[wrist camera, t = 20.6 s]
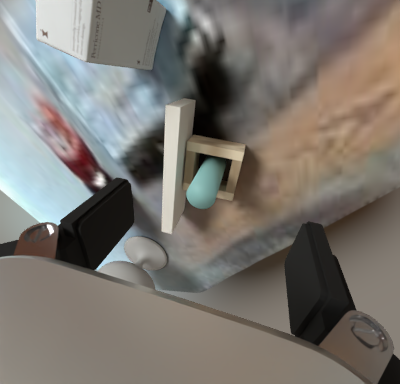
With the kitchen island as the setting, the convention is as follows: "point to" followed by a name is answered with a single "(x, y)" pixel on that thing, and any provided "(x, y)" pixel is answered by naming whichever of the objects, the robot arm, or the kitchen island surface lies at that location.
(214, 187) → the dowel
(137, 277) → the chalice
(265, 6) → the kitchen island surface
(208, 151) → the light wooden square frame
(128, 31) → the skincare box
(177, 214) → the wall
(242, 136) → the kitchen island surface
